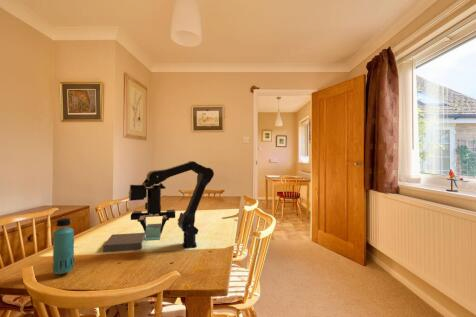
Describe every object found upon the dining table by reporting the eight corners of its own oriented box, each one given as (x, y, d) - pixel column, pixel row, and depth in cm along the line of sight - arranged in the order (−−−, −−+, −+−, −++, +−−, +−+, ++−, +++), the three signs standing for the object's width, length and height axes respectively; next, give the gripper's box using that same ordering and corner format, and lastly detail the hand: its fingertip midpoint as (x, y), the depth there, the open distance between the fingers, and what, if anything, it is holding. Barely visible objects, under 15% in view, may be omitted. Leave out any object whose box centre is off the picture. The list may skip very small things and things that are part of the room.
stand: (141, 249, 116) (141, 242, 116) (103, 252, 112) (103, 245, 112) (145, 238, 131) (145, 232, 131) (112, 240, 128) (112, 234, 128)
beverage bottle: (57, 280, 86) (57, 222, 86) (48, 275, 90) (49, 219, 90) (77, 272, 92) (78, 218, 92) (68, 268, 95) (69, 216, 95)
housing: (159, 239, 107) (159, 229, 107) (145, 240, 106) (145, 229, 106) (161, 231, 119) (161, 222, 119) (148, 232, 118) (148, 222, 118)
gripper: (175, 195, 122) (175, 227, 123) (134, 196, 118) (134, 229, 118) (175, 199, 112) (175, 234, 112) (130, 200, 107) (130, 237, 107)
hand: (153, 233), depth 112 cm, fingers closed on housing, 6 cm apart
